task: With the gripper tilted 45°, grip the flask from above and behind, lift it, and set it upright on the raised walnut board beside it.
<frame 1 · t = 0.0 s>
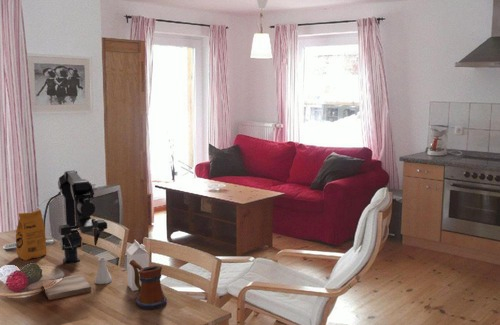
hand: (84, 247, 219), 15 cm above the table, tool pointing down, fingers open, 9 cm apart
coffee package: (31, 256, 252), on the table
walnut board: (66, 288, 213), on the table
milk carton: (138, 287, 215), on the table
mug: (146, 301, 201), on the table
flask: (103, 282, 220), on the table
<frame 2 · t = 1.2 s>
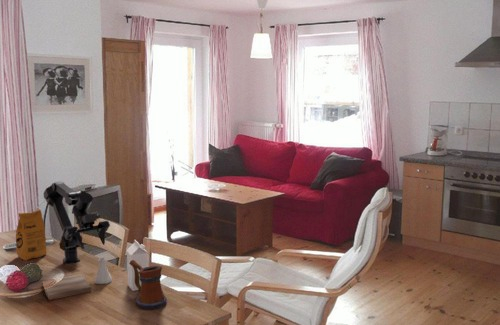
hand: (94, 246, 224), 13 cm above the table, tool tilted 45°, fingers open, 9 cm apart
nothing on the table moved.
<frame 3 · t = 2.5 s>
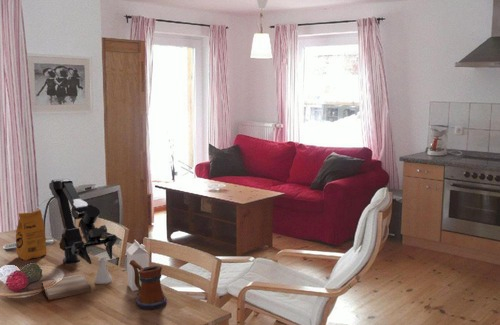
hand: (101, 261, 220), 9 cm above the table, tool tilted 45°, fingers open, 9 cm apart
nothing on the table moved.
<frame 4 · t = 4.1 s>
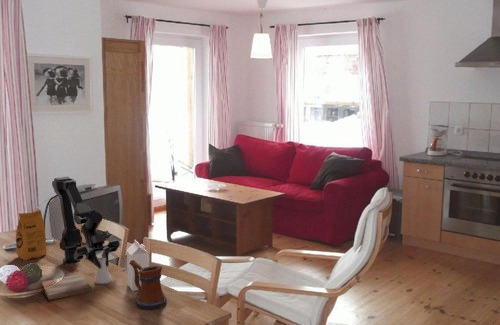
hand: (104, 267, 218), 7 cm above the table, tool tilted 45°, fingers closed on flask, 3 cm apart
flask: (103, 281, 220), on the table, touching gripper
everything else where it was.
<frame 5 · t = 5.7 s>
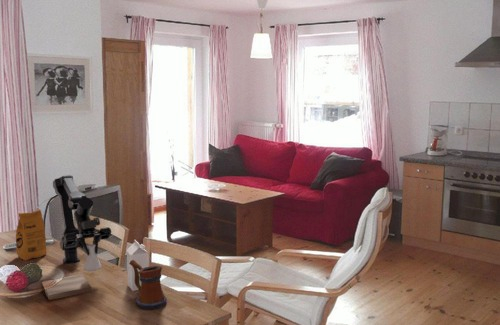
hand: (92, 254, 214), 13 cm above the table, tool tilted 45°, fingers closed on flask, 3 cm apart
flask: (92, 269, 217), point 6 cm above the table, touching gripper
everything else where it was.
when the fingers open (10 cm above the table, at t = 7.7 s): flask stays where it is, resting on walnut board.
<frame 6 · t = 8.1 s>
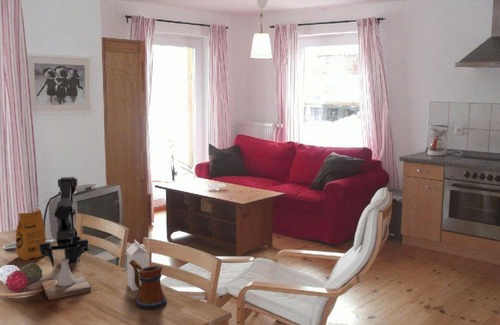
hand: (64, 266, 210), 10 cm above the table, tool tilted 45°, fingers open, 8 cm apart
flask: (65, 284, 213), point 2 cm above the table, touching walnut board
everything else where it was.
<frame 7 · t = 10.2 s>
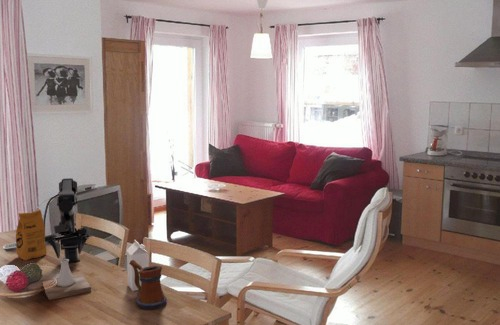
hand: (68, 255, 220), 11 cm above the table, tool tilted 35°, fingers open, 9 cm apart
nothing on the table moved.
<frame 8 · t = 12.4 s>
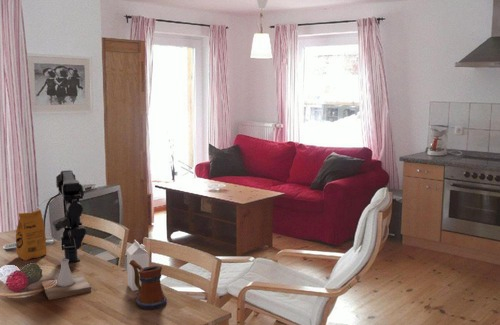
hand: (75, 246, 225), 13 cm above the table, tool pointing down, fingers open, 9 cm apart
nothing on the table moved.
at the end: flask inside the target area on the walnut board (0.2 cm from its centre), point 1.8 cm above the walnut board's base; flask tilted 0°; the gripper is holding nothing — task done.
